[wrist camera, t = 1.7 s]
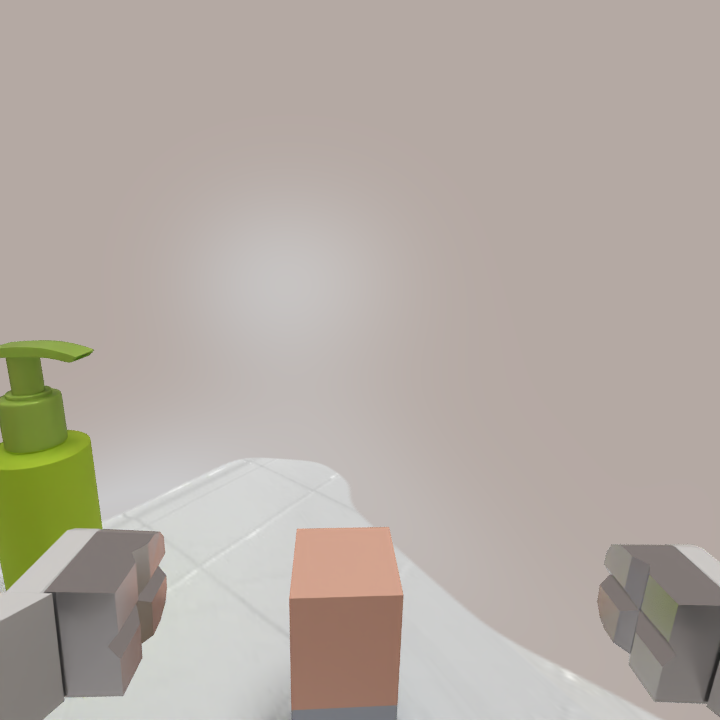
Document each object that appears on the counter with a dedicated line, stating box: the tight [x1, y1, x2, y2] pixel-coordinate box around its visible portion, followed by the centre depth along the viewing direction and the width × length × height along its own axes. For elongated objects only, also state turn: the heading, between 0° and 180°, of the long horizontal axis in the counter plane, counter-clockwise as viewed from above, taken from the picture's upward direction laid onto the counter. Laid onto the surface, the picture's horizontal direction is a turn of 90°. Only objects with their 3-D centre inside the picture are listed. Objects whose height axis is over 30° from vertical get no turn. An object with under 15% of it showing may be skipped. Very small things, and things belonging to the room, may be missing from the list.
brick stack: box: [289, 527, 403, 720], centre depth 23 cm, size 5×5×12 cm
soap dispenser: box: [0, 340, 103, 591], centre depth 31 cm, size 6×7×20 cm
